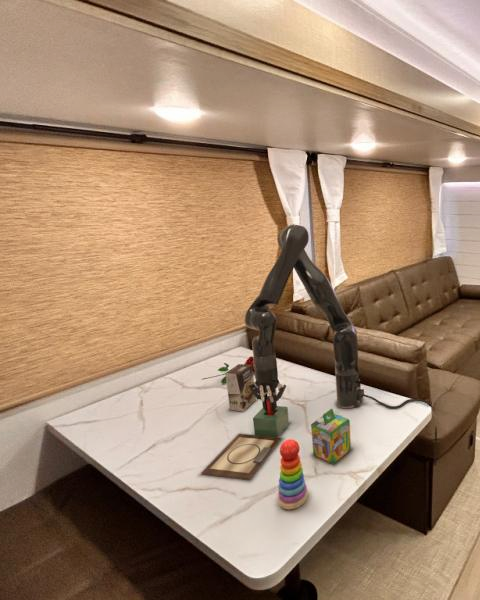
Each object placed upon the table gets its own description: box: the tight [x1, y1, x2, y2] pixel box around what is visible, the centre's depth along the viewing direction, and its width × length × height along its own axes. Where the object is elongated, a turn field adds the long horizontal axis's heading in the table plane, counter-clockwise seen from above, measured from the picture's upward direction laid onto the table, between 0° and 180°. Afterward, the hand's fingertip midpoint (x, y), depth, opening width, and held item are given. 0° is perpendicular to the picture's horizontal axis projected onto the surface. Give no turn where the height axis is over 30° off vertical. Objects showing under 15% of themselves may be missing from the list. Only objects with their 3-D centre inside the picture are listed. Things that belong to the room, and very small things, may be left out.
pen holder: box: [252, 405, 290, 438], centre depth 135 cm, size 9×9×7 cm
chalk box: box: [310, 408, 352, 465], centre depth 121 cm, size 9×9×15 cm
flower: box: [201, 356, 255, 384], centre depth 175 cm, size 9×10×30 cm
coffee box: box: [224, 363, 257, 412], centre depth 150 cm, size 9×6×16 cm
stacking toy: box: [277, 438, 309, 510], centre depth 101 cm, size 8×8×19 cm
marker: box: [266, 395, 274, 416], centre depth 134 cm, size 2×2×13 cm
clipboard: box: [201, 433, 282, 481], centre depth 122 cm, size 16×20×1 cm
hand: (270, 409), depth 134 cm, fingers closed on marker, 2 cm apart
